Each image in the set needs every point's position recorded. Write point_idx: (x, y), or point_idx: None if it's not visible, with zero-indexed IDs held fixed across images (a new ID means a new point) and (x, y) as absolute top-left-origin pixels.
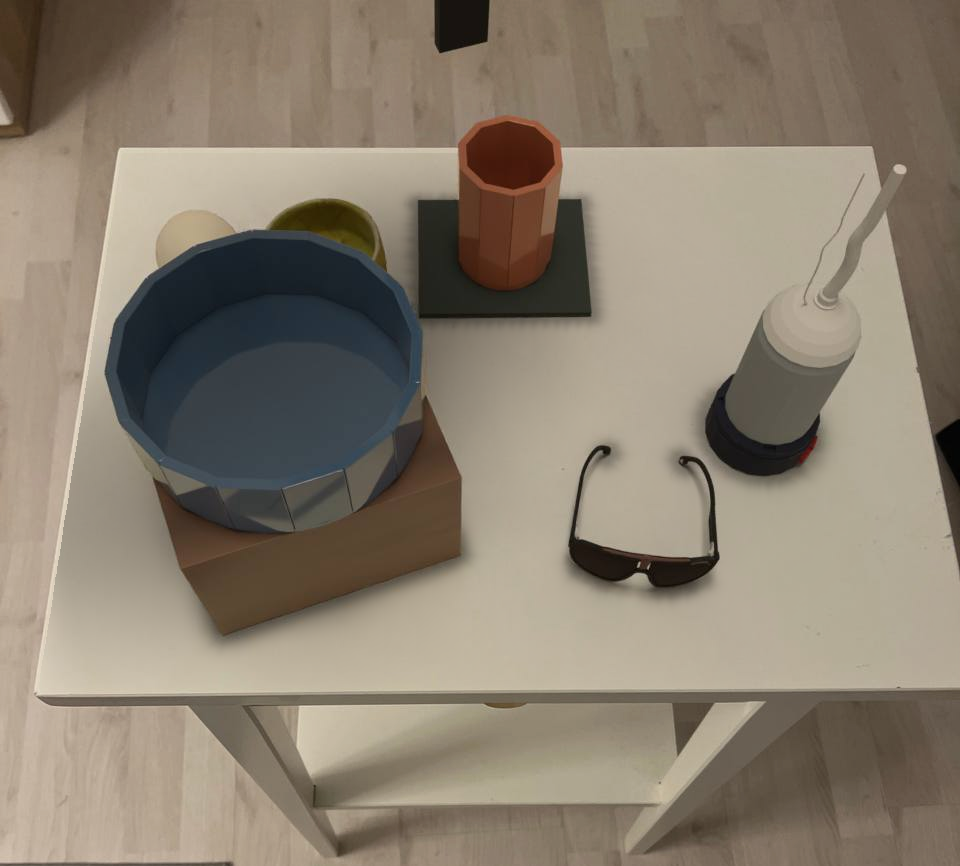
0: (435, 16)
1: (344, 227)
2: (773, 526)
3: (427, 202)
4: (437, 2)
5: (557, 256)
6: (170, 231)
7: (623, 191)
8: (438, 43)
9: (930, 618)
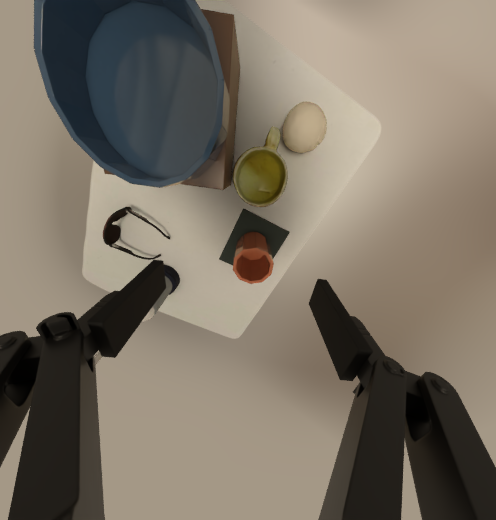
0: (150, 270)
1: (272, 196)
2: (133, 265)
3: (286, 235)
4: (140, 277)
5: None
6: (312, 112)
7: (258, 289)
8: (153, 262)
9: (99, 283)
